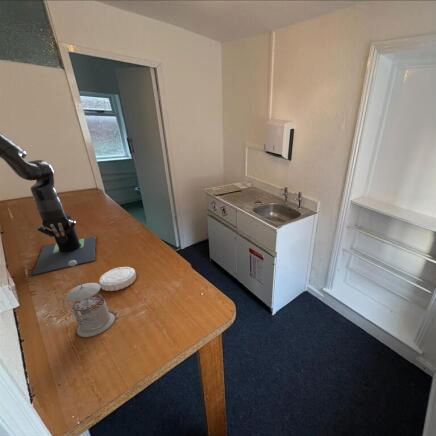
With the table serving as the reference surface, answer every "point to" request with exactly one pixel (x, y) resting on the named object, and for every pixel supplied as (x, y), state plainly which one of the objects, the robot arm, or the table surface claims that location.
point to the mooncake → (117, 278)
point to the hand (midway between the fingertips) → (64, 242)
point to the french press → (86, 300)
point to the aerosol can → (69, 240)
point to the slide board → (64, 256)
